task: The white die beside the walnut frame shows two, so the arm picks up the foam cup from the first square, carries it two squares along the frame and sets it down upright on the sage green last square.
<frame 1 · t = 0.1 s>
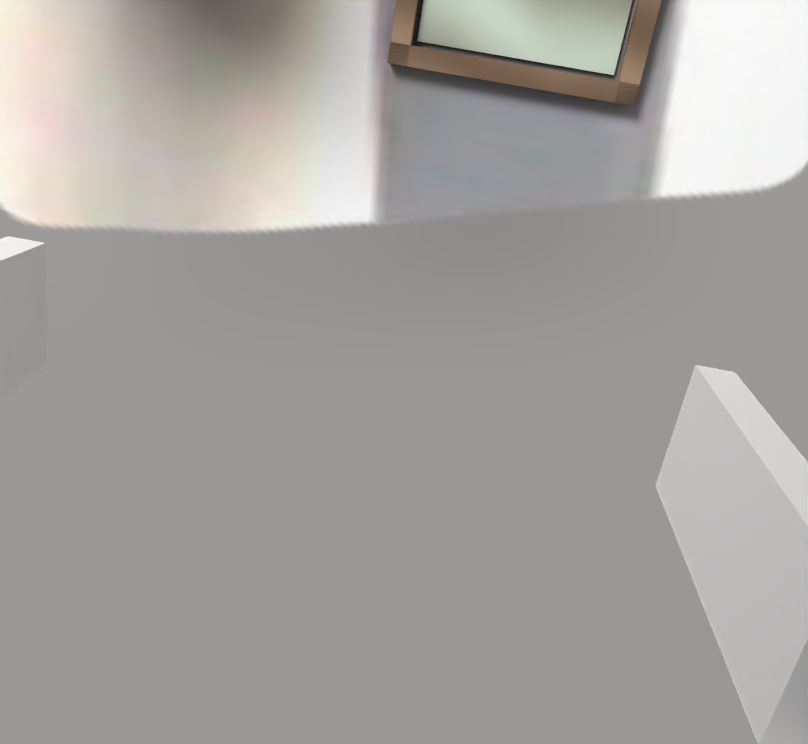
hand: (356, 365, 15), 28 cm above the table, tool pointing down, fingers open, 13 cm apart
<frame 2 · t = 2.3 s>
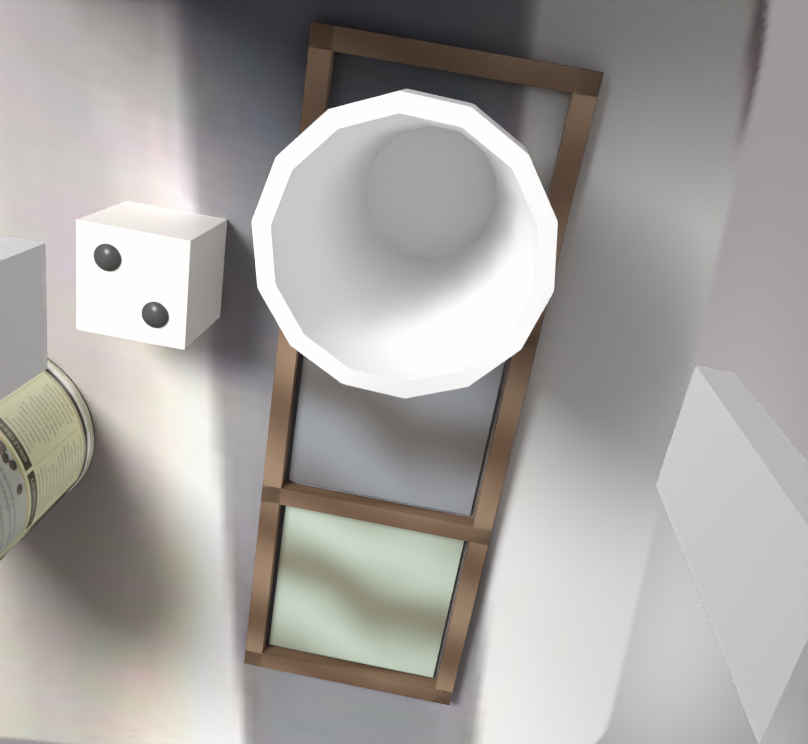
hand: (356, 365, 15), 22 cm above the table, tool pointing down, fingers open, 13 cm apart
walnut frame: (393, 413, 40), on the table
foam cup: (432, 191, 36), resting in walnut frame
white die: (175, 259, 38), on the table
coffee can: (9, 420, 43), on the table
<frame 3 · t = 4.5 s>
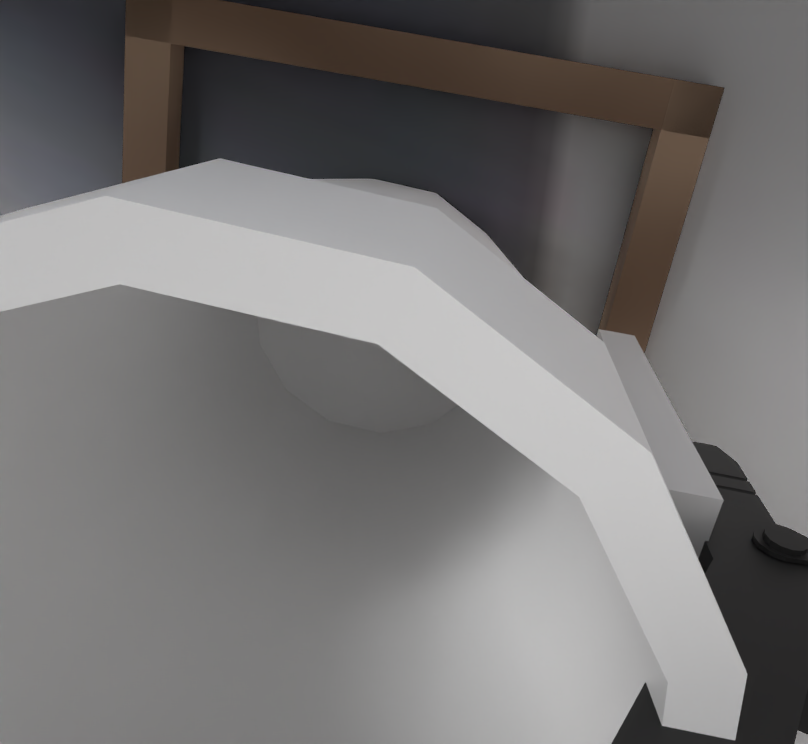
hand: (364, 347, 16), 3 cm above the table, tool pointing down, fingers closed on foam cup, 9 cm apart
walnut frame: (324, 668, 23), on the table
foam cup: (381, 308, 19), resting in walnut frame, touching gripper
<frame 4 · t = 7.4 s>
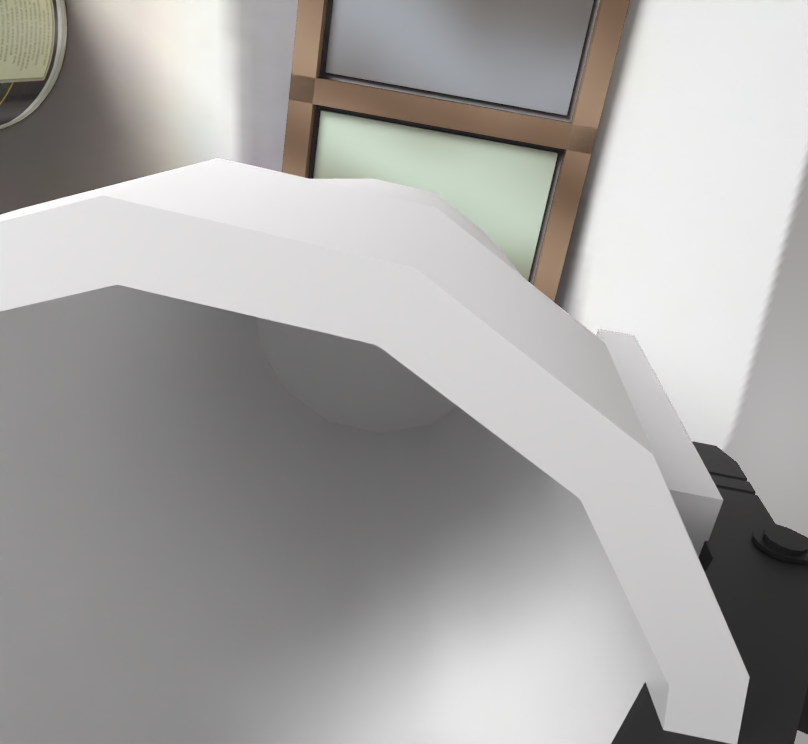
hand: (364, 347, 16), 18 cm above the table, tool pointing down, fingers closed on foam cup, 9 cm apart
foam cup: (381, 309, 19), point 15 cm above the table, touching gripper
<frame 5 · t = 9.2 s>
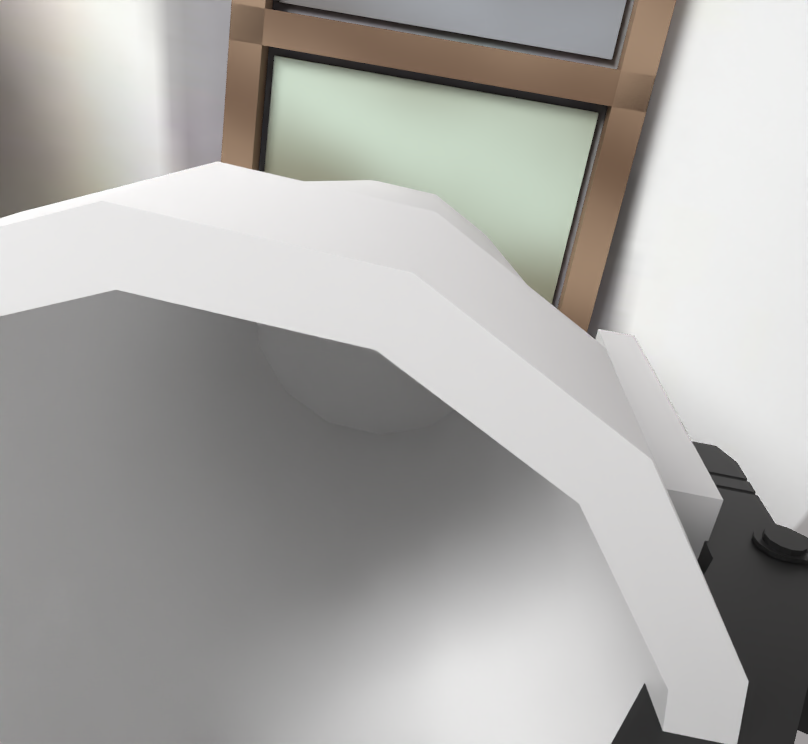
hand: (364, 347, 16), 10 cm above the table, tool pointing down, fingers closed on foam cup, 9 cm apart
foam cup: (381, 310, 19), point 7 cm above the table, touching gripper
when the fingers open (4 cm above the table, at t = 10.8 s): foam cup drops 1 cm, resting on walnut frame.
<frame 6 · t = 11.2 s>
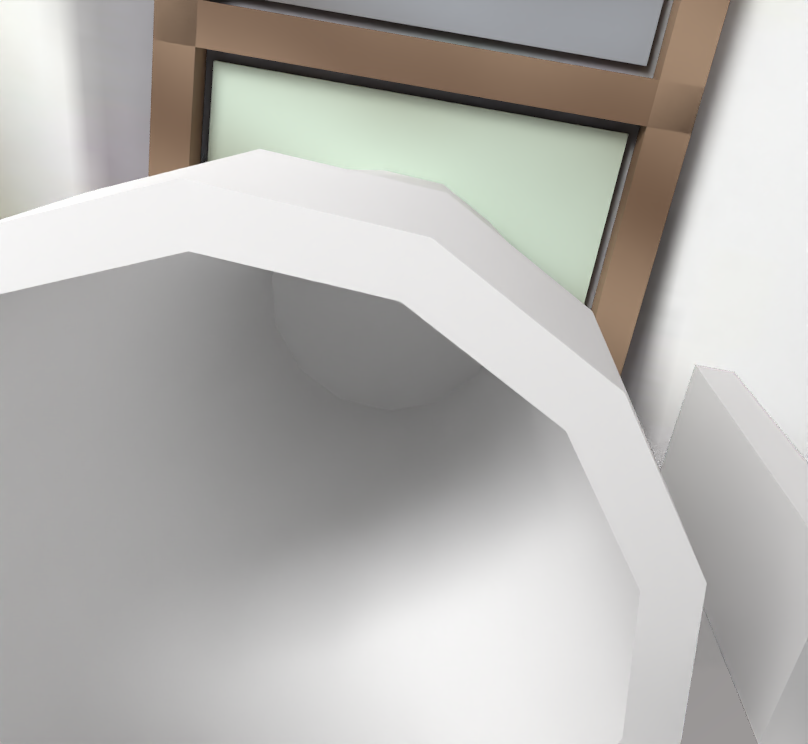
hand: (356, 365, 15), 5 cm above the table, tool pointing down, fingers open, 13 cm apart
foam cup: (390, 293, 20), resting on walnut frame
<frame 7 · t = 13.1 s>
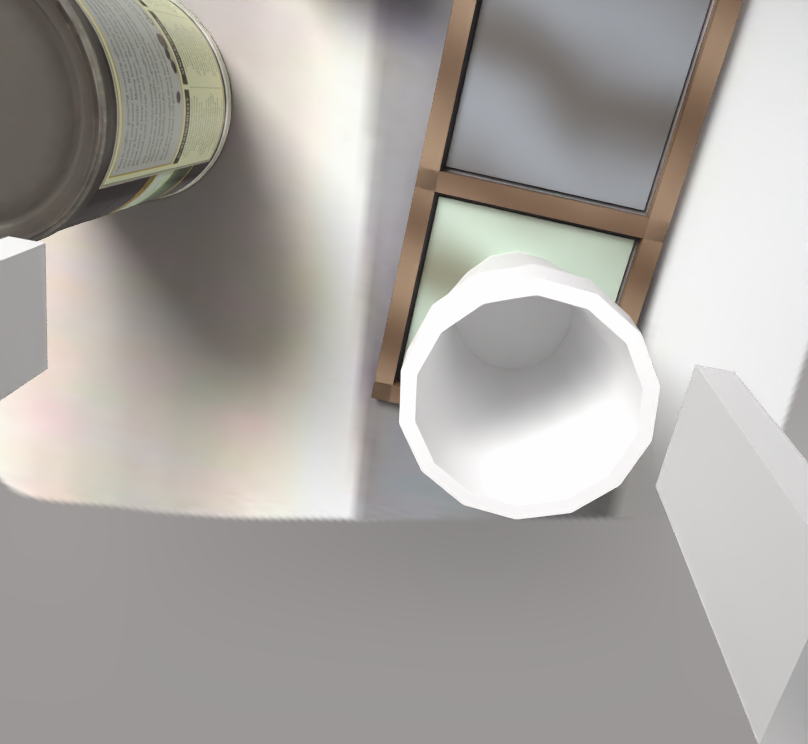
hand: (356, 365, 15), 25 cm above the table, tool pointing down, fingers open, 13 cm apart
walnut frame: (572, 82, 36), on the table
foam cup: (512, 310, 40), resting on walnut frame
coffee can: (136, 96, 39), on the table
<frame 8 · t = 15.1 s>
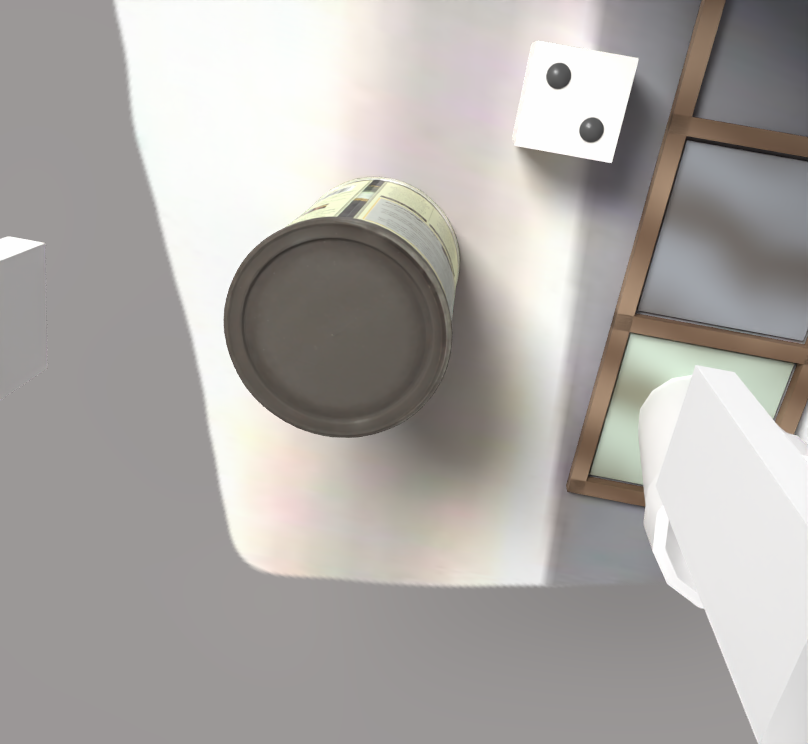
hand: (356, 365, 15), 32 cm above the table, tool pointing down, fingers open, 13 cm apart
walnut frame: (746, 243, 44), on the table
foam cup: (688, 419, 49), resting on walnut frame
white die: (565, 99, 43), on the table
coffee can: (378, 260, 47), on the table
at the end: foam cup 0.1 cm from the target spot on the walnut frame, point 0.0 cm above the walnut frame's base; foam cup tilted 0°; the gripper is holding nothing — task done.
